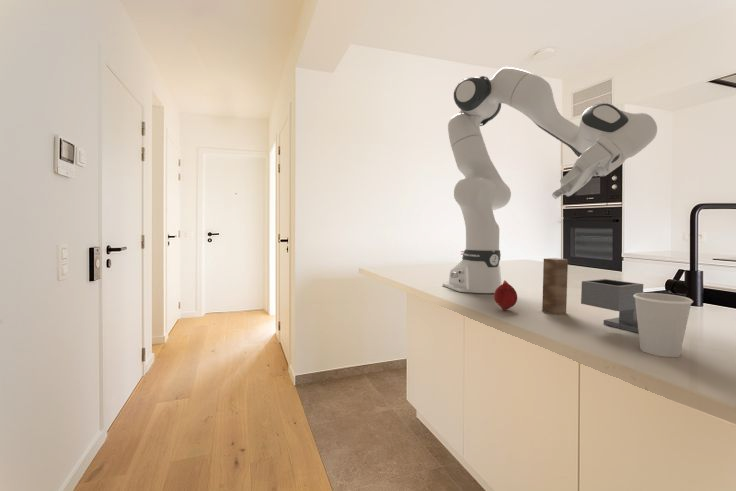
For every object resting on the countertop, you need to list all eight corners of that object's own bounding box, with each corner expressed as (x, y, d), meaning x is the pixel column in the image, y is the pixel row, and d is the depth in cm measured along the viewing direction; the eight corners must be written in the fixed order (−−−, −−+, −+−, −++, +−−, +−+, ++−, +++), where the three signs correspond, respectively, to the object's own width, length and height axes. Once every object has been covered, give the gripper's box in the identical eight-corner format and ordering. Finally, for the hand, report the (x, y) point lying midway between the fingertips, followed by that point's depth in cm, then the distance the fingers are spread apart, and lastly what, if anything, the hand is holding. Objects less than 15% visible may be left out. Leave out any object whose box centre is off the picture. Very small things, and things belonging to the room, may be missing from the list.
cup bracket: (580, 328, 82) (581, 281, 81) (619, 321, 87) (621, 277, 87) (617, 338, 74) (619, 286, 74) (657, 330, 80) (660, 282, 80)
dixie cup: (667, 344, 70) (669, 292, 70) (703, 360, 62) (706, 302, 62) (621, 343, 71) (623, 292, 71) (650, 359, 63) (653, 301, 62)
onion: (520, 310, 99) (520, 280, 99) (512, 313, 95) (512, 283, 94) (498, 306, 103) (499, 278, 102) (490, 310, 99) (490, 280, 98)
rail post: (542, 311, 98) (543, 258, 97) (552, 309, 99) (554, 258, 99) (555, 314, 94) (557, 259, 93) (566, 313, 96) (567, 259, 95)
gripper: (580, 169, 112) (542, 196, 112) (604, 131, 93) (558, 164, 93) (596, 183, 109) (557, 211, 110) (623, 148, 90) (576, 182, 91)
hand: (557, 189), depth 101 cm, fingers open, 8 cm apart
